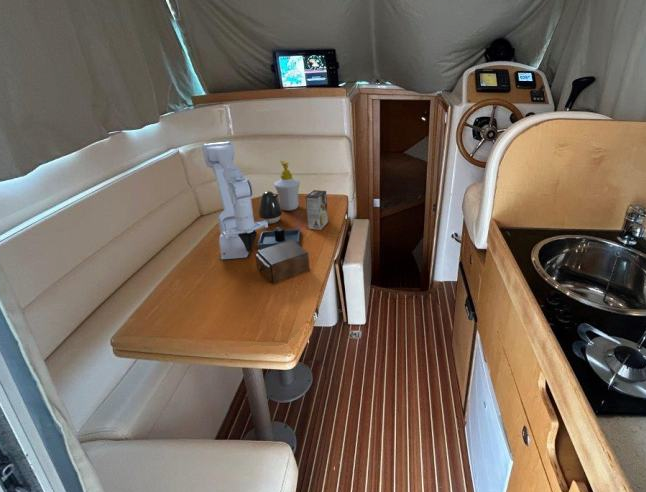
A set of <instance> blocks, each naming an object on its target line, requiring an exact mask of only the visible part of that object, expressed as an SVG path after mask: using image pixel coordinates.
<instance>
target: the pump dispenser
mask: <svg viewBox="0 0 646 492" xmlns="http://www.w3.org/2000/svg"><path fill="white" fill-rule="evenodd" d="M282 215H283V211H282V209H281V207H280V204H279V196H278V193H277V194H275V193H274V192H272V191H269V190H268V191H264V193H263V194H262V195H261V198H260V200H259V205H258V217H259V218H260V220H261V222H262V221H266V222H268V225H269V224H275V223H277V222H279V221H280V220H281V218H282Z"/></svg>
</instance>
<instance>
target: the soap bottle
mask: <svg viewBox="0 0 646 492" xmlns="http://www.w3.org/2000/svg"><path fill="white" fill-rule="evenodd" d="M279 162H280V164H281V166H282V167H283V170H282V171H281V174H280V179H279V180H277V181H275V182H274V184H273V185H274V187H275V190H276V193H277V194H278V202H279V204H280V207H281V211H282V210H283V211H285V212H288V211H289V212H290V211H294V210H297V209H298V207H299V188H300V184H301V181H299V180H298V179H295V178H293V174H292V173H291V171H290V169H288V168H289V164H290V163H289V162H287V161H285V160H279Z"/></svg>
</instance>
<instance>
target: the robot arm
mask: <svg viewBox="0 0 646 492" xmlns="http://www.w3.org/2000/svg"><path fill="white" fill-rule="evenodd" d="M201 150H202V155H203V159H204V163H205V165H206V167H207V168H209V169H212V171H213V173H214V176H215V180H216V181H215V182H216V184H217V188H218V192H219V196H220V200H221V204H222V209H223V210H222V211H221V213H219V215H218V217H217V222H218V229H219V233H220V235H219V238H218V244H219V245H218V246H219V250H220V256H221V257H220V259H221V260H232V259H245V258H248V256H249V254H250V253H251V252H253V248H254V242H255V240H256V237H257V236H258V235H257V233H258V232H257V230H260V229H267V228H269V224H268V222H266V221H262V220H261V221H255V218H254V210H253V204H252V203H253V202H252V197H253V194H254V193H253V186H252V184H251V181H250V179H248V178H247V177H245V176H244V175H243V173H242V171H241V169H240V168H239V167H238V166H236V165H235V163H234V159H235V147H234V145H233V143H232V142H231V141H229V140H228V141H222V142H213V143H203V144H202V145H201ZM231 216H235V217H233V218H230V217H231Z"/></svg>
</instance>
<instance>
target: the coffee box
mask: <svg viewBox="0 0 646 492" xmlns="http://www.w3.org/2000/svg"><path fill="white" fill-rule="evenodd" d="M327 199H328V198H327V190H317V189H316V190H315V189H314V190H312V191H311V192H310V193H308V194H307V195H306V196H305V205H306V217H307V228H308V229H309V230H318V231H320V230H321V231H322V230H323V228H324V227H325V226H326V225H327V224H328V223H329V214H328V213H329V212H328V200H327Z"/></svg>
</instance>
